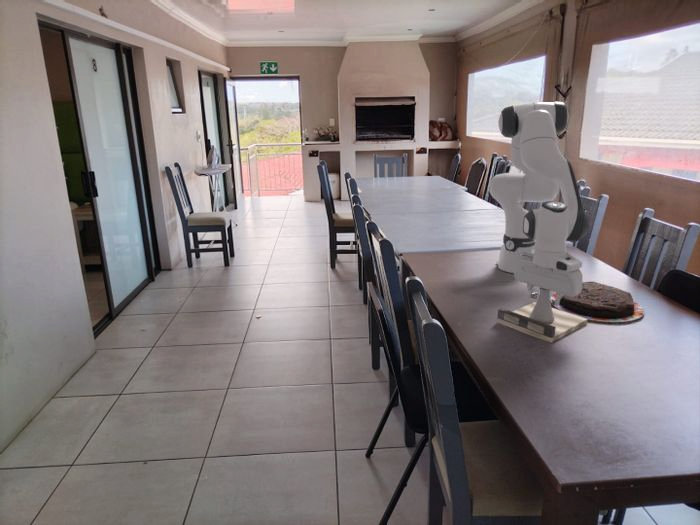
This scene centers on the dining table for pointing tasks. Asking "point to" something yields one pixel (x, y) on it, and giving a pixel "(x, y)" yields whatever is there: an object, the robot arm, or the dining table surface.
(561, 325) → the shelf board
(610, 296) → the chocolate cake
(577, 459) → the dining table surface
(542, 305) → the flask
